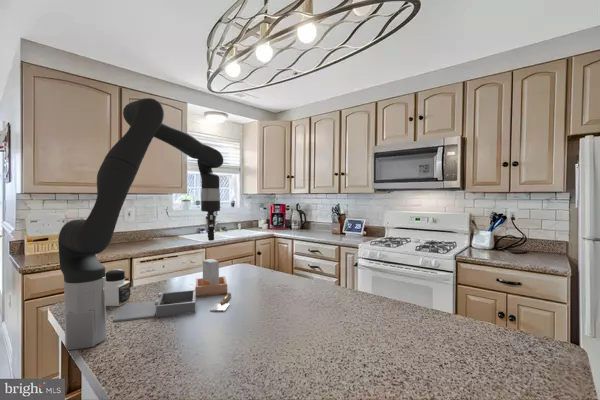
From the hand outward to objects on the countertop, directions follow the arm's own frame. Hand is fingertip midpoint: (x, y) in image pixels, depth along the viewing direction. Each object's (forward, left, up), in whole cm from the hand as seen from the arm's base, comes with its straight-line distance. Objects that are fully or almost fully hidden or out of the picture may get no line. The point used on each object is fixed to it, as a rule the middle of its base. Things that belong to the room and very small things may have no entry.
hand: (210, 239), depth 126 cm
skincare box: (0, 0, -21) cm, 21 cm away
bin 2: (0, 0, -22) cm, 22 cm away
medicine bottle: (-3, +34, -22) cm, 41 cm away
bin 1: (-15, +18, -22) cm, 32 cm away
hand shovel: (-17, -4, -22) cm, 27 cm away
